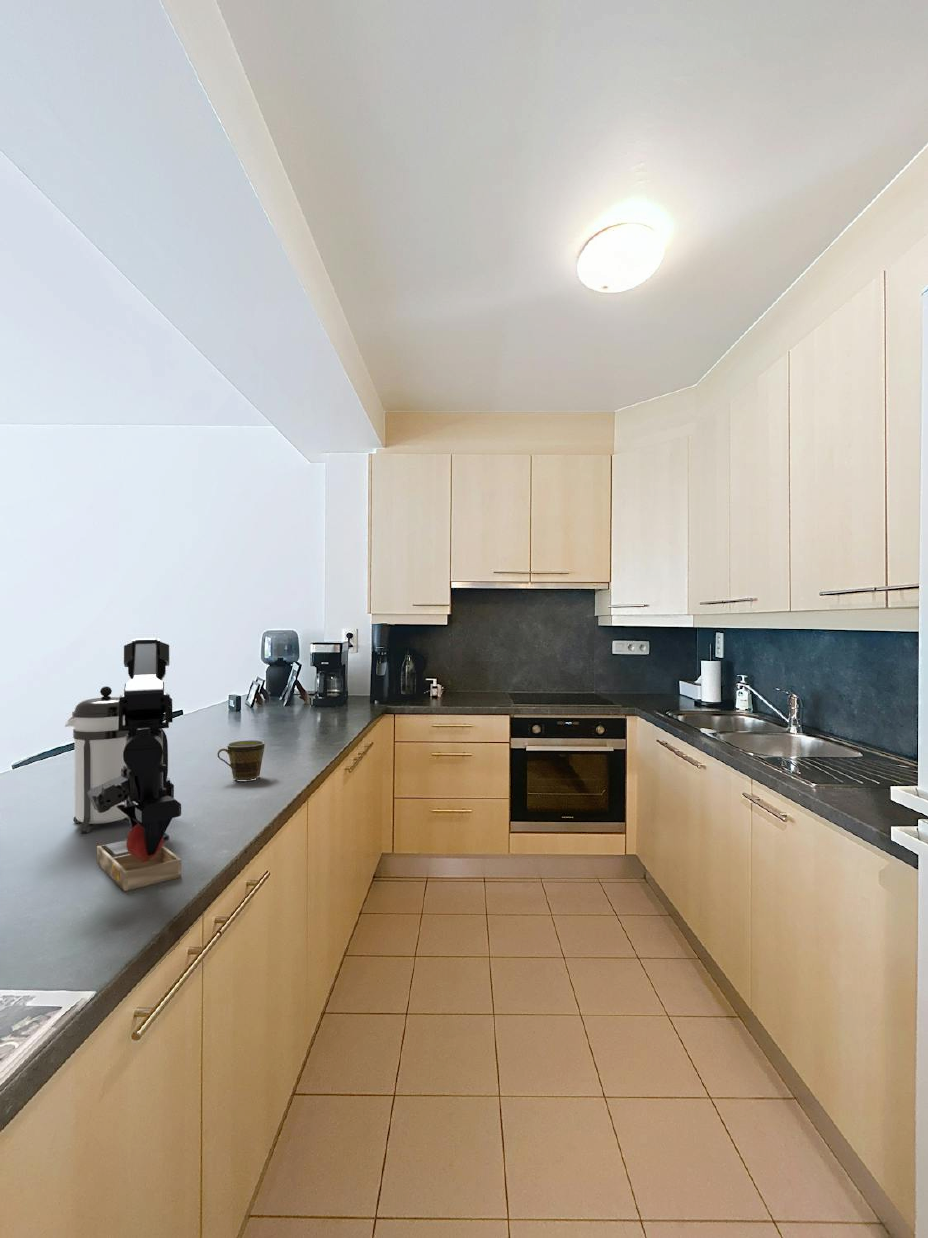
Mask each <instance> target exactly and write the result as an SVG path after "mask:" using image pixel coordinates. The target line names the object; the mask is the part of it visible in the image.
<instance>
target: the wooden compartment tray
mask: <svg viewBox="0 0 928 1238" xmlns="http://www.w3.org/2000/svg"><path fill="white" fill-rule="evenodd" d="M126 844H127V839H126V840H122V841H115V842H111V843H107V844H102V845H97V846H96V863H97V864H98V866H100V868H101V869H102V870H104V872H105V873H106V874H107V875H108V876H109V877H110V878H111V879H112V880H113V881H114V883H116V884H117V886H119V887H120V888H121V889H122V890H123V891H124V892H127V891H131V890H135V889H139V888H143V887H146V886H150V885H155V884H157V883H162V882H167V881H170V880H173V879H174V880H175V879H178V878H181V877H182V858H181V857H179V856H178V855H176V854H175V853H174V852H172V851H171V850H170V849H169V848H167V847H165V846H164V845H162V847H161V849H160V851H159V852H158V853H157V854H156V855H154V856H153V857H152V858H151V859H150V860H149V861H148V862H145V863H144V862H141V861H140V860H138V859H137V858H135V857H134V856H132V855H131V854H130V853H129V852H128V850H127V846H126Z"/></svg>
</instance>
